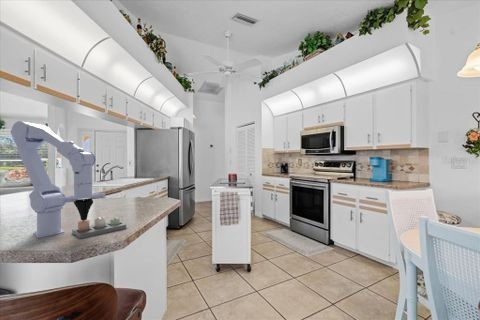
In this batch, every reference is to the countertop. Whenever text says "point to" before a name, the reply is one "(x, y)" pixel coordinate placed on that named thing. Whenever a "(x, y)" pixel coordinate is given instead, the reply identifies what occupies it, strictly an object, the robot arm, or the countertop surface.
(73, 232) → the button board
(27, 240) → the countertop surface
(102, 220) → the cream button
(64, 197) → the robot arm
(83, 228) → the terracotta button
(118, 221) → the sage button
